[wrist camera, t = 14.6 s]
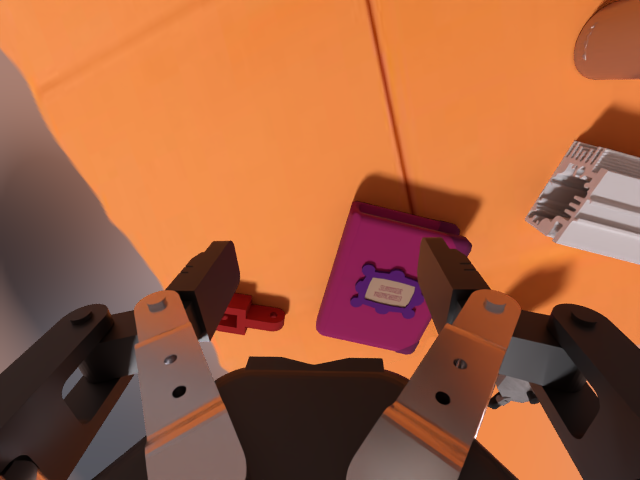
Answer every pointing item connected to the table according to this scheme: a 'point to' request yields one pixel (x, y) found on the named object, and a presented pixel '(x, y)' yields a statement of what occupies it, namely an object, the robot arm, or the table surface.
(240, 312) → the mechanical linkage
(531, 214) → the stack of papers
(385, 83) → the table surface
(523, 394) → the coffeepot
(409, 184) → the table surface
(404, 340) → the book
